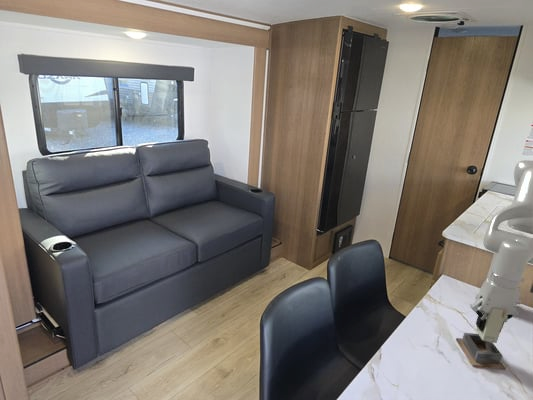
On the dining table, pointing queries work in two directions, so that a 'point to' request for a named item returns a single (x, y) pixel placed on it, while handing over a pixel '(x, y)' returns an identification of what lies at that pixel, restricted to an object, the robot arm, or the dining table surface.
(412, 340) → the dining table surface
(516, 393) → the dining table surface
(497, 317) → the skincare box
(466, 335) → the sleeve stand
